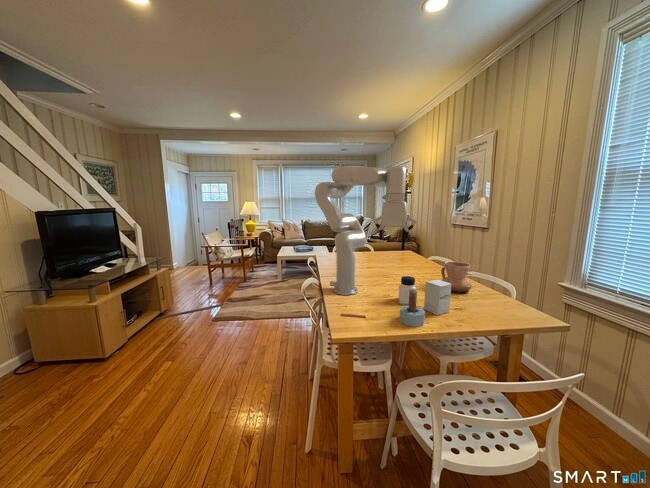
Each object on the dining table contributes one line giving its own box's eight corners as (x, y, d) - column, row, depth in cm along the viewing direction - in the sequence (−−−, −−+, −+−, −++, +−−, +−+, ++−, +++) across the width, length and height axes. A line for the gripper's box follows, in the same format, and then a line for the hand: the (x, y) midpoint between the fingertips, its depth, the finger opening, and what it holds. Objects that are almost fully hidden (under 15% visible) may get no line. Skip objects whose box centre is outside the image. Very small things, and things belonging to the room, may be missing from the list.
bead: (398, 323, 97) (398, 312, 96) (402, 314, 105) (402, 304, 104) (422, 328, 93) (423, 316, 92) (424, 318, 101) (425, 308, 100)
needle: (407, 322, 98) (408, 290, 96) (408, 319, 101) (410, 287, 99) (414, 323, 97) (416, 291, 95) (415, 320, 99) (417, 288, 97)
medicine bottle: (416, 305, 115) (417, 279, 113) (399, 303, 116) (400, 278, 114) (413, 299, 121) (415, 275, 120) (398, 298, 123) (399, 274, 121)
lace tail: (341, 315, 104) (341, 314, 104) (341, 314, 105) (341, 313, 105) (365, 317, 102) (365, 316, 102) (365, 316, 103) (365, 315, 103)
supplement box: (437, 315, 104) (440, 286, 102) (423, 309, 110) (425, 281, 108) (449, 312, 107) (452, 283, 105) (435, 306, 113) (437, 278, 111)
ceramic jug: (480, 293, 129) (482, 265, 127) (458, 296, 124) (460, 268, 122) (451, 283, 146) (453, 259, 144) (431, 286, 141) (433, 261, 139)
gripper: (371, 198, 103) (370, 240, 106) (416, 198, 96) (413, 243, 98) (376, 198, 110) (375, 237, 113) (418, 198, 102) (416, 240, 105)
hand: (393, 240), depth 105 cm, fingers open, 9 cm apart
